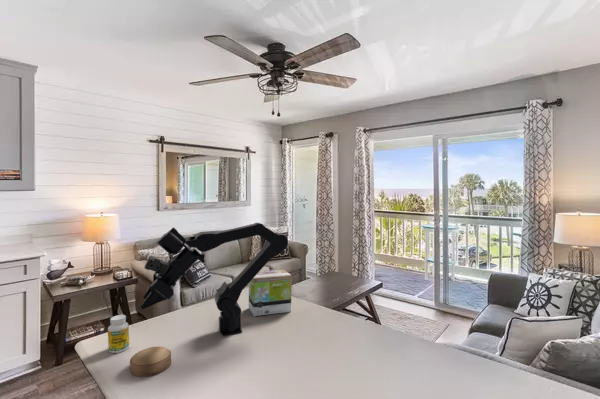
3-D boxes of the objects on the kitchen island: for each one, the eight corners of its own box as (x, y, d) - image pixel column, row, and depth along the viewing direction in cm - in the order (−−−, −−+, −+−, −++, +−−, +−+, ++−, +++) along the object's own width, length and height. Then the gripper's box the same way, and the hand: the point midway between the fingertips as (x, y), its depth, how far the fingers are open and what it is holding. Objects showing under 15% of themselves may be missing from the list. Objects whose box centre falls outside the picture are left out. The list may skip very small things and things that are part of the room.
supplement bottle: (128, 343, 98) (127, 312, 98) (130, 350, 94) (129, 318, 94) (107, 347, 95) (107, 316, 95) (108, 355, 91) (108, 322, 91)
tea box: (254, 317, 118) (253, 278, 118) (248, 308, 127) (248, 271, 127) (292, 312, 124) (292, 274, 123) (283, 303, 133) (283, 268, 132)
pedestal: (170, 353, 92) (170, 343, 92) (171, 371, 83) (171, 360, 83) (131, 360, 88) (131, 350, 88) (128, 380, 79) (128, 368, 79)
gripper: (162, 242, 107) (125, 278, 103) (160, 253, 90) (116, 296, 86) (187, 263, 110) (152, 299, 107) (190, 277, 93) (148, 320, 89)
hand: (142, 303), depth 97 cm, fingers open, 9 cm apart
